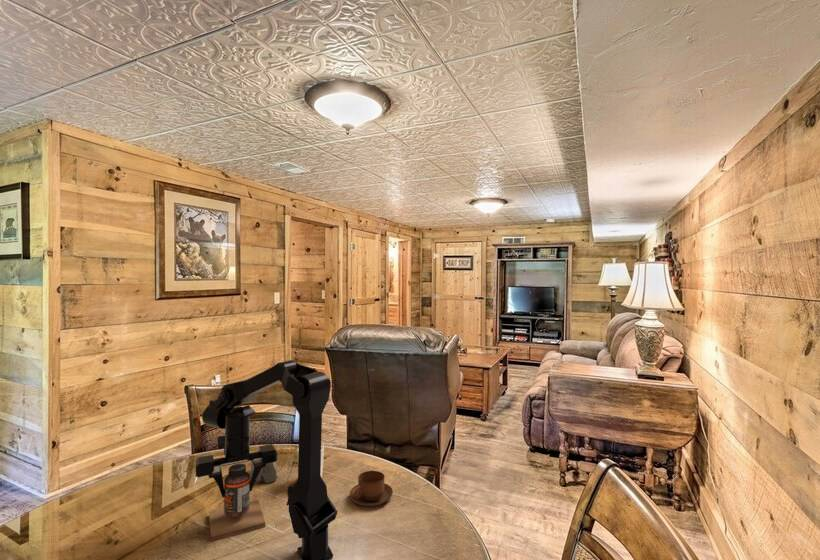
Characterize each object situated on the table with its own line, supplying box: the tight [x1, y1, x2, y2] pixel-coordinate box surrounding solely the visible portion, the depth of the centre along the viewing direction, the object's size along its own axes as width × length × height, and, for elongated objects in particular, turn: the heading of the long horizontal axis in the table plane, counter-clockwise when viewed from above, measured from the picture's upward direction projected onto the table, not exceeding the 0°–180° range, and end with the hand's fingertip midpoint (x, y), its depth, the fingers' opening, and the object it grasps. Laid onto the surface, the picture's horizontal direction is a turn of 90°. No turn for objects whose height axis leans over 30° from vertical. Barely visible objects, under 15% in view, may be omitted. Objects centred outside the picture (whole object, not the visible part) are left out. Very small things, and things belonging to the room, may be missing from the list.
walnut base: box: [208, 499, 266, 542], centre depth 102 cm, size 12×12×1 cm
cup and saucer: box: [349, 470, 393, 507], centre depth 113 cm, size 12×12×6 cm
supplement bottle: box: [223, 463, 251, 517], centre depth 102 cm, size 6×6×11 cm
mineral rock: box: [256, 443, 279, 484], centre depth 128 cm, size 13×11×10 cm
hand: (237, 493), depth 102 cm, fingers closed on supplement bottle, 6 cm apart
